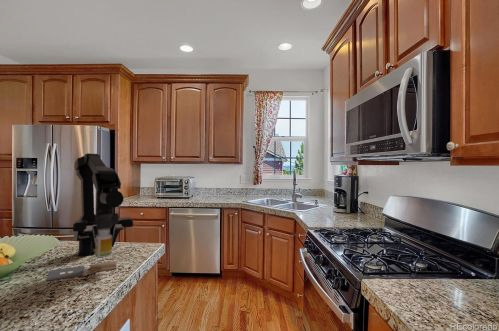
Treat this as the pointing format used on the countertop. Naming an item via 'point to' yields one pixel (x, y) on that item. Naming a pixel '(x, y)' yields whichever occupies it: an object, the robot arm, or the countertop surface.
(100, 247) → the supplement bottle
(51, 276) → the mat
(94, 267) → the walnut coaster
